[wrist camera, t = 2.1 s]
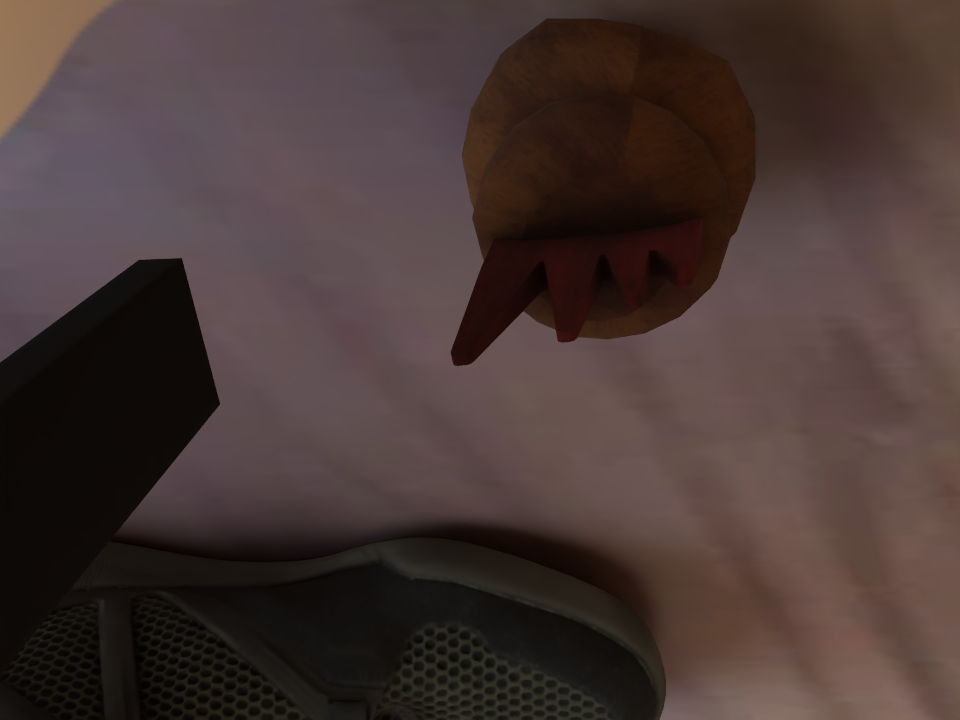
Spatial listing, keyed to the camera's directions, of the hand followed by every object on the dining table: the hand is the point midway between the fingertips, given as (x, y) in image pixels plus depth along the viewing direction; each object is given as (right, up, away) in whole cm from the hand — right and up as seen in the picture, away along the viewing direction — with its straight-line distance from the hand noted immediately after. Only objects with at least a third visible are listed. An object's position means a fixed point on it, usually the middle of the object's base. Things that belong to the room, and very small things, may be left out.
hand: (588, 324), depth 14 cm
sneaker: (-9, -11, +24) cm, 27 cm away
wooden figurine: (+2, +7, +12) cm, 14 cm away
